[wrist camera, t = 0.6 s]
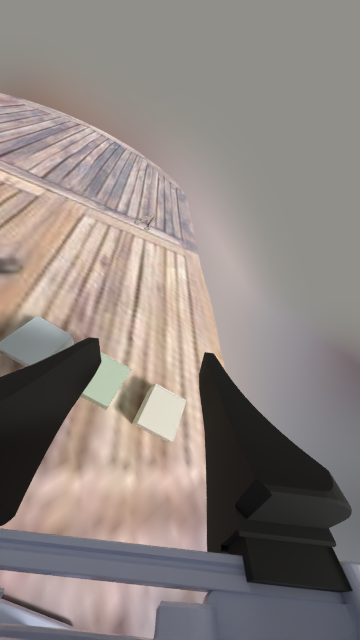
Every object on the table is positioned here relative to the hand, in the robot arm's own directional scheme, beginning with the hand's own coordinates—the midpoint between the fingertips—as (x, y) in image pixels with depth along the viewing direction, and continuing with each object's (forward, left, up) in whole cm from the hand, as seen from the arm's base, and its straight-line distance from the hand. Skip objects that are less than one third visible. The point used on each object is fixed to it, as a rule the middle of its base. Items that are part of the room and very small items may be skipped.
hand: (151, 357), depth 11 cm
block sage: (0, +3, -16) cm, 17 cm away
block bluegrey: (0, +12, -16) cm, 20 cm away
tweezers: (+51, +23, -17) cm, 59 cm away
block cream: (0, -6, -16) cm, 17 cm away
